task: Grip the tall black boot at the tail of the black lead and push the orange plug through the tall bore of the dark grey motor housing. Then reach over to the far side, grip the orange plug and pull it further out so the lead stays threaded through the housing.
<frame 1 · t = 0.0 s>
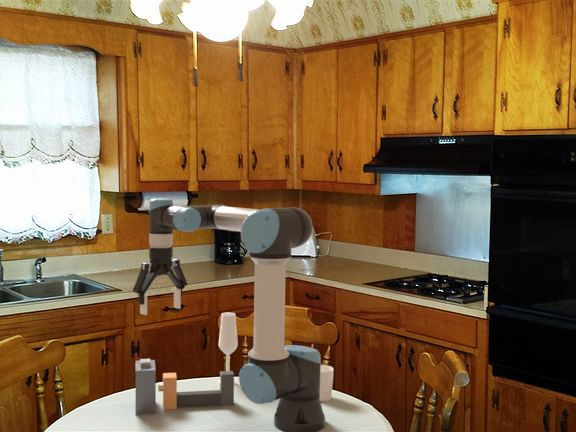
hand: (160, 311, 235), 28 cm above the table, tool pointing down, fingers open, 13 cm apart
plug: (169, 406, 227), on the table
motor housing: (145, 407, 226), on the table
champagne flute: (227, 382, 253), on the table
white cup: (320, 398, 238), on the table
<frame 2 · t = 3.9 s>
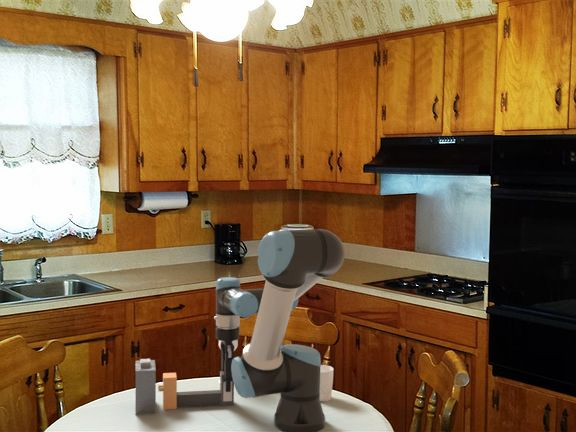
hand: (226, 398, 231), 2 cm above the table, tool pointing down, fingers closed on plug, 3 cm apart
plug: (169, 406, 227), on the table, touching gripper
everything else where it was.
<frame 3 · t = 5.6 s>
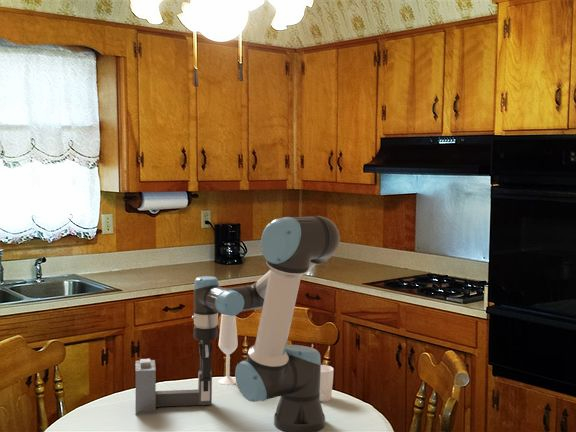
hand: (204, 398, 230), 2 cm above the table, tool pointing down, fingers closed on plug, 3 cm apart
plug: (147, 405, 226), on the table, touching gripper
everything else where it was.
when the fingers open (2 cm above the table, at t = 7.6 s): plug stays where it is, on the table.
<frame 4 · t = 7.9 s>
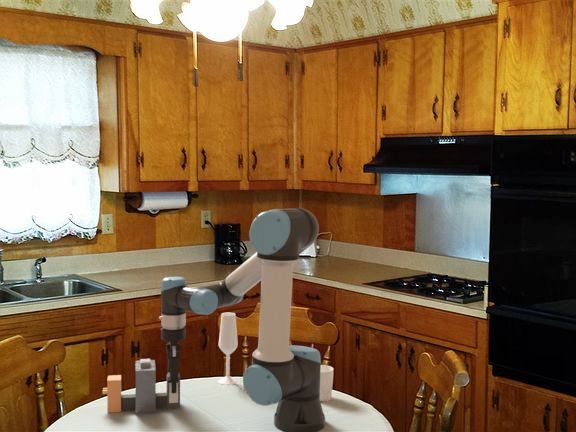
hand: (172, 397, 227), 3 cm above the table, tool pointing down, fingers open, 8 cm apart
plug: (114, 409, 224), on the table
everything else where it was.
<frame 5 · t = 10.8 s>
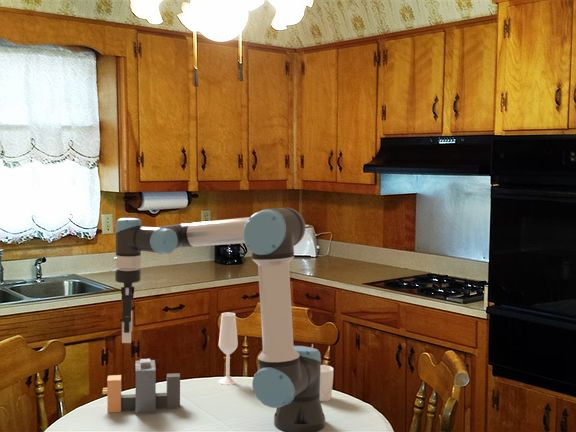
hand: (127, 336, 223), 23 cm above the table, tool pointing down, fingers open, 13 cm apart
nothing on the table moved.
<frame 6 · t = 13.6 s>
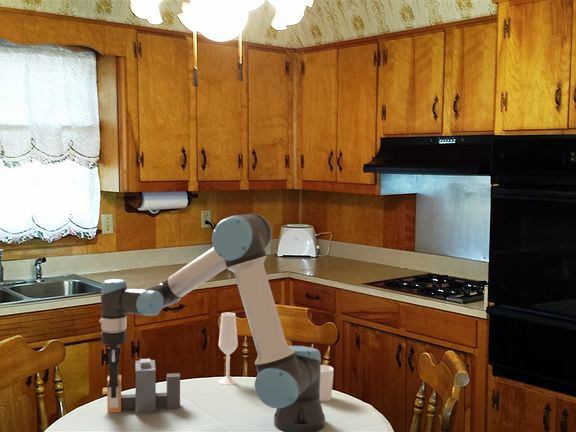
hand: (114, 403, 224), 2 cm above the table, tool pointing down, fingers closed on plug, 5 cm apart
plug: (114, 409, 224), on the table, touching gripper
everything else where it was.
when the fingers open (2 cm above the table, at t = 15.1 s): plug stays where it is, on the table.
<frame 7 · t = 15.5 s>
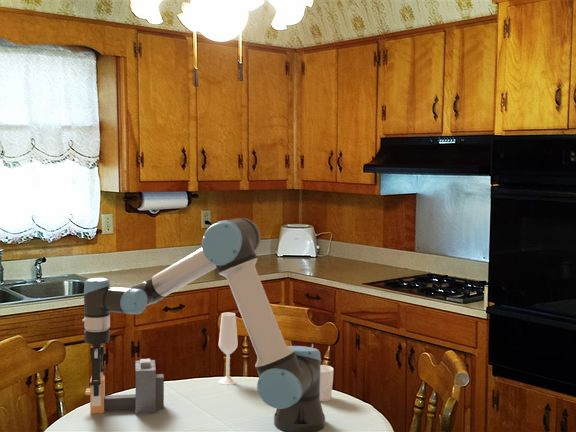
hand: (97, 399, 223), 3 cm above the table, tool pointing down, fingers open, 11 cm apart
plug: (97, 410, 223), on the table
everything else where it was.
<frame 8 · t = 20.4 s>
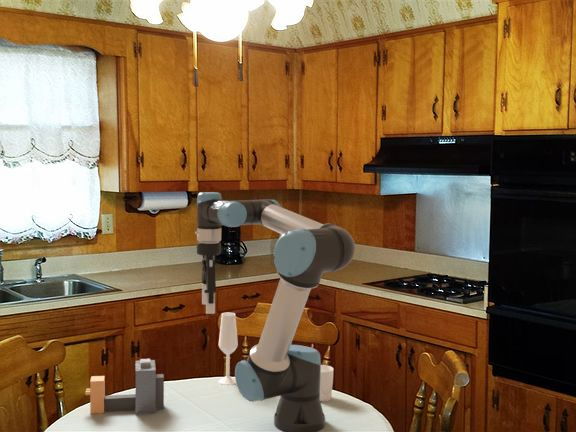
hand: (208, 308, 228), 31 cm above the table, tool pointing down, fingers open, 13 cm apart
nothing on the table moved.
at the end: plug 0.1 cm from the target spot on the table beside the motor housing, on the table; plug moved 21.9 cm from its start; the gripper is holding nothing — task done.
